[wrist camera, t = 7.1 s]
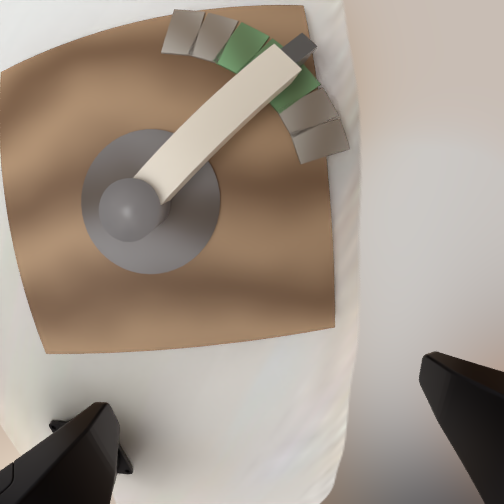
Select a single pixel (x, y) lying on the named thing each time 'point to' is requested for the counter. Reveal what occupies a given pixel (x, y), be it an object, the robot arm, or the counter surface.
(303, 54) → the dial lever
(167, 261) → the dial board
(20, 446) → the counter surface
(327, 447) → the counter surface
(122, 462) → the robot arm
